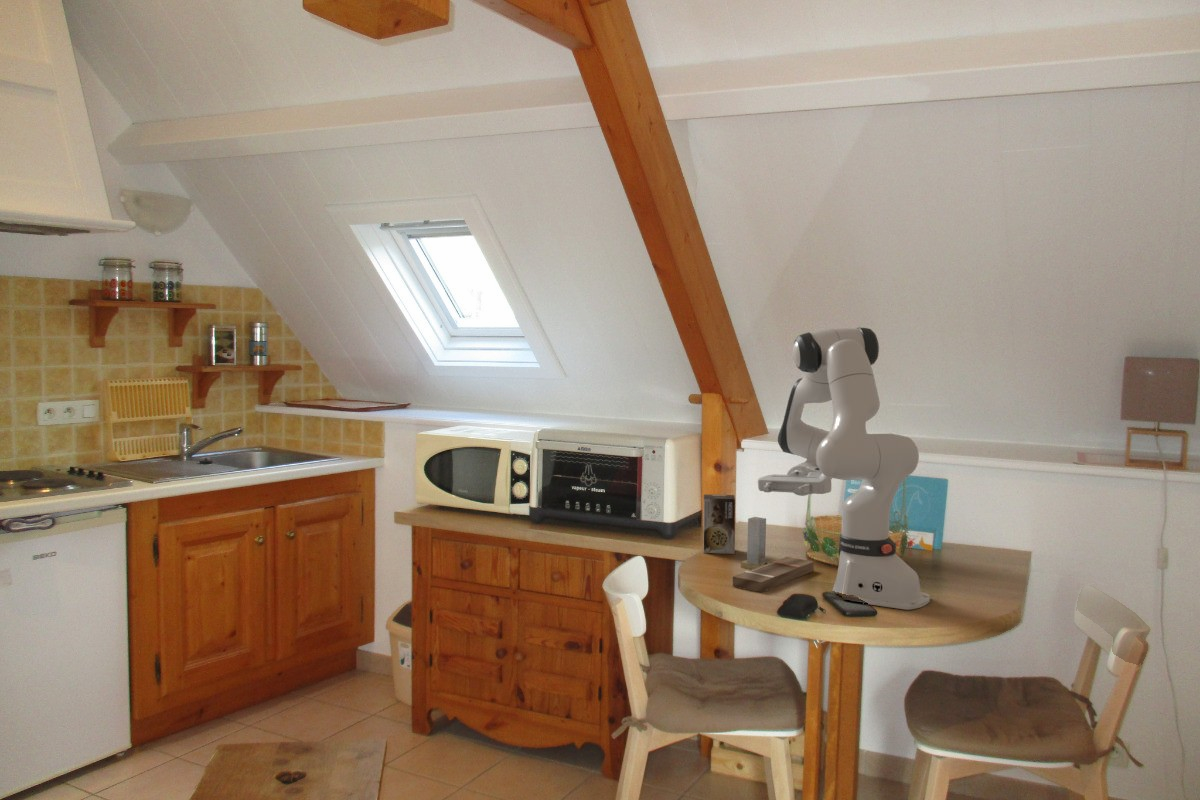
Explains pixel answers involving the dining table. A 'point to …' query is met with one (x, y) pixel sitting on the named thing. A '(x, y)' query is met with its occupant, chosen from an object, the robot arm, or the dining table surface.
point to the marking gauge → (755, 543)
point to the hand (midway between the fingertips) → (781, 490)
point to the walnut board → (773, 574)
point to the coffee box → (719, 524)
